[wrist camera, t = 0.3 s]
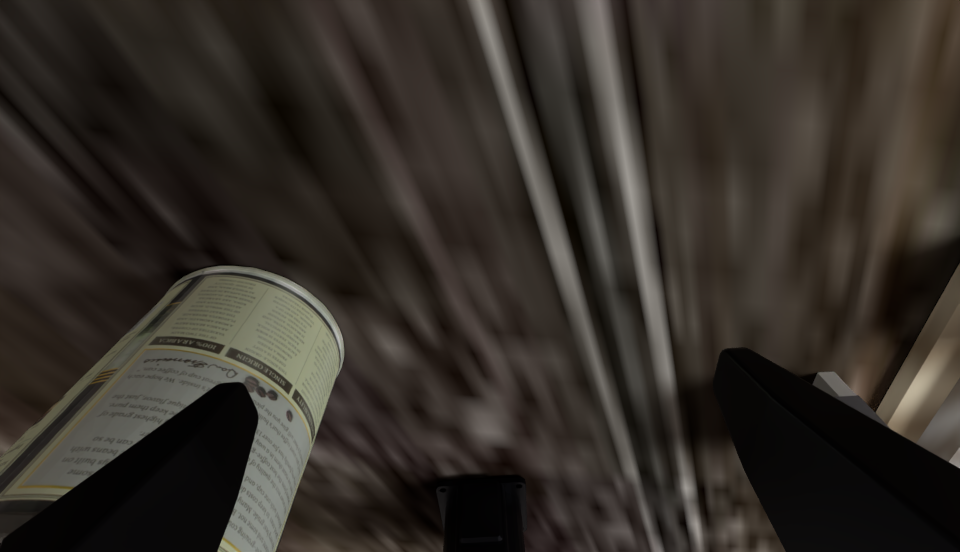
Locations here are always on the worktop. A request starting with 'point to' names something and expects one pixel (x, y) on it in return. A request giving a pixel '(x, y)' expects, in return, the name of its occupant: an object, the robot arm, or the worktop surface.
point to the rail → (931, 382)
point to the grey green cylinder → (194, 396)
